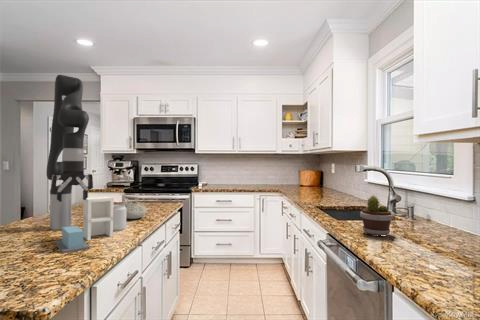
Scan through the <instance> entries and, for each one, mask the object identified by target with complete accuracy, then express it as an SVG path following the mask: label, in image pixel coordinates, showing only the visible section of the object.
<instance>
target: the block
mask: <svg viewBox="0 0 480 320" xmlns="http://www.w3.org/2000/svg"><path fill="white" fill-rule="evenodd" d="M61 240H62V243H63V244H64V245H65V246H66V247H67V248H68V249H71V248H77V247H83V241H84V237H83V229H81V228H80V227H79V226H77V225H71V226H68V227H62V229H61Z"/></svg>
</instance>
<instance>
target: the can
mask: <svg viewBox="0 0 480 320" xmlns="http://www.w3.org/2000/svg"><path fill="white" fill-rule="evenodd" d="M126 228H127V219H126V207H125V205H119V204H114V205H113V232H120V231H124V230H125V229H126Z"/></svg>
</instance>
